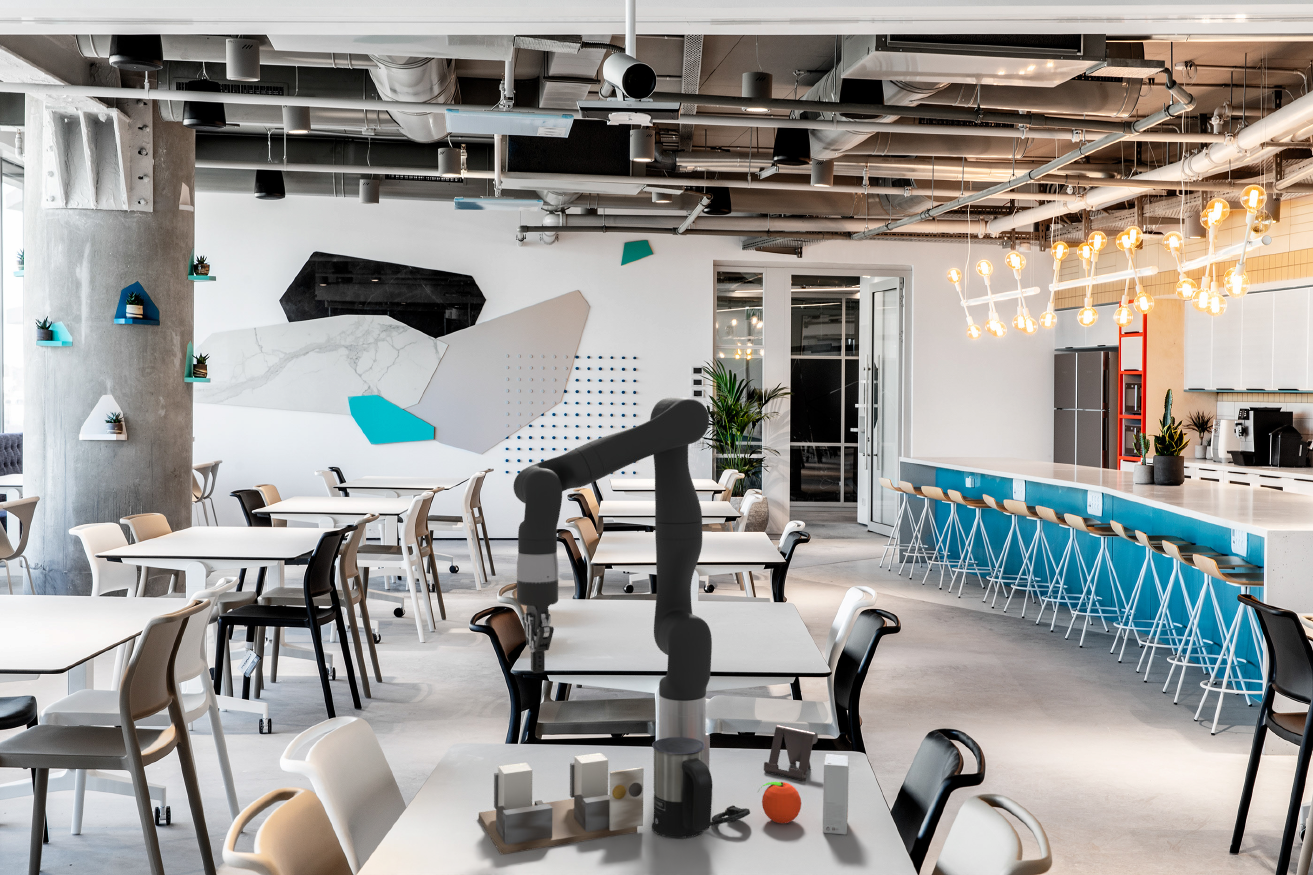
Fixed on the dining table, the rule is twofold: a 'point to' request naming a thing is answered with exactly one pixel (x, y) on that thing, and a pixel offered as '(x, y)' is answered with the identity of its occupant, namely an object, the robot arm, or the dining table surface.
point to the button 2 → (589, 776)
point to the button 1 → (513, 786)
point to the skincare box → (835, 794)
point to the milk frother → (684, 790)
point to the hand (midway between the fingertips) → (537, 671)
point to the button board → (570, 817)
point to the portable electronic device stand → (791, 751)
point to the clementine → (781, 802)
